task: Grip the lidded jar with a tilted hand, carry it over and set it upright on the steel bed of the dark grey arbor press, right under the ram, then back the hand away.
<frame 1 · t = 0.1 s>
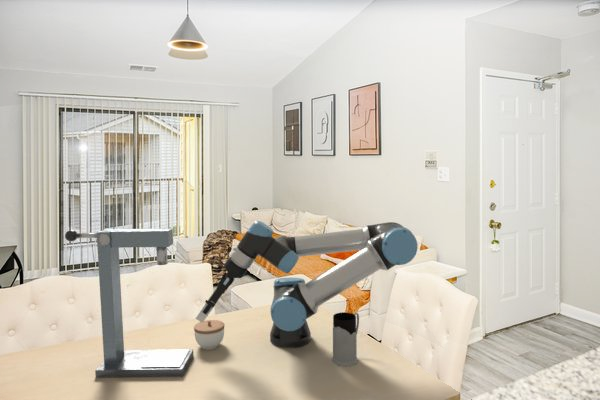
hand: (203, 313, 147), 15 cm above the table, tool tilted 35°, fingers open, 13 cm apart
arbor press: (166, 366, 141), on the table
lidded jar: (210, 346, 156), on the table
grey mug: (348, 357, 146), on the table
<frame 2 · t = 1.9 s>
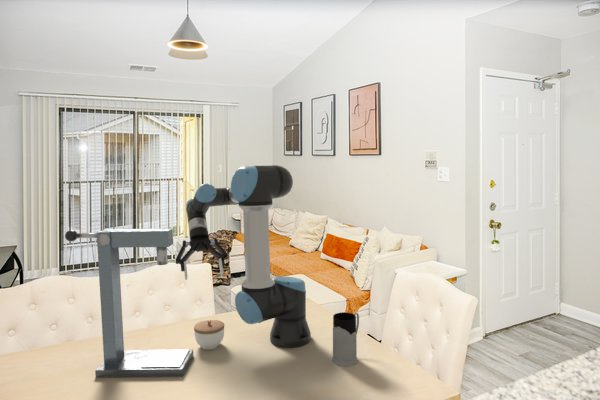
hand: (204, 276, 166), 23 cm above the table, tool tilted 45°, fingers open, 13 cm apart
nothing on the table moved.
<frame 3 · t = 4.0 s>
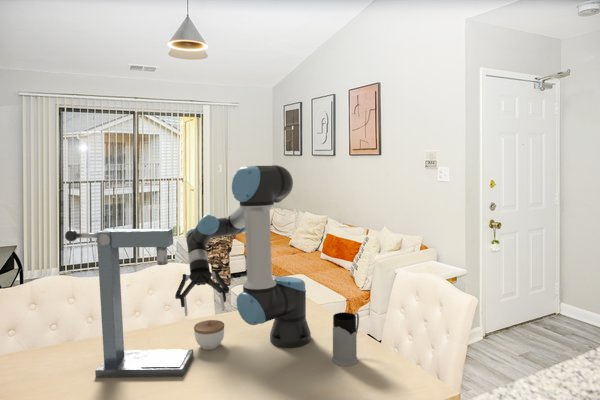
hand: (205, 312, 161), 11 cm above the table, tool tilted 45°, fingers open, 13 cm apart
nothing on the table moved.
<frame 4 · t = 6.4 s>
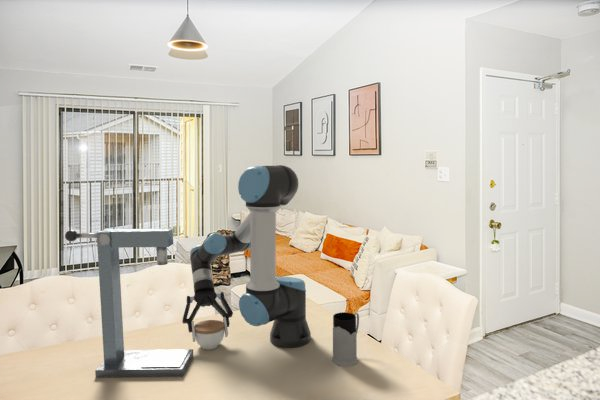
hand: (210, 337, 153), 4 cm above the table, tool tilted 45°, fingers closed on lidded jar, 11 cm apart
lidded jar: (210, 346, 156), on the table, touching gripper
everything else where it was.
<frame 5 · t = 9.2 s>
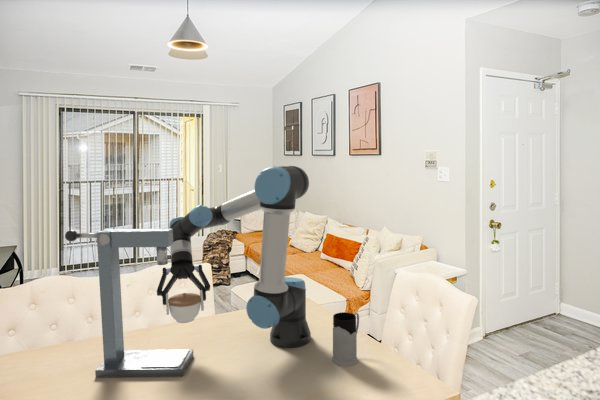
hand: (185, 311, 146), 16 cm above the table, tool tilted 45°, fingers closed on lidded jar, 11 cm apart
lidded jar: (185, 320, 150), point 12 cm above the table, touching gripper
everything else where it was.
when the fingers open (8 cm above the table, at t = 12.4 s): lidded jar drops 1 cm, resting on arbor press.
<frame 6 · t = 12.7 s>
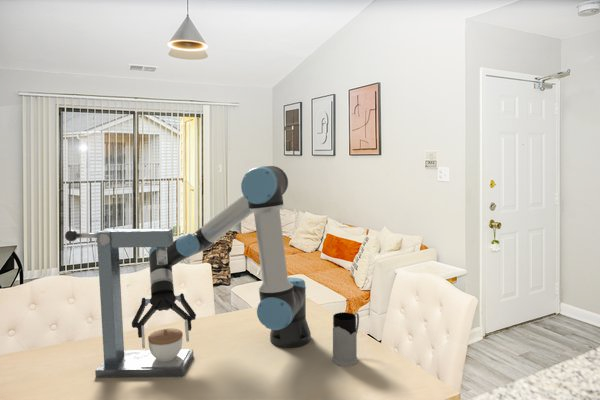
hand: (166, 343, 138), 9 cm above the table, tool tilted 45°, fingers open, 13 cm apart
lidded jar: (166, 358, 141), point 3 cm above the table, touching arbor press
everything else where it was.
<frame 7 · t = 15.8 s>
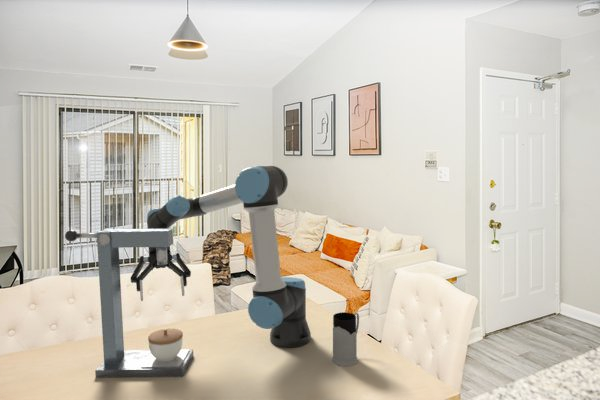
hand: (162, 296, 148), 20 cm above the table, tool tilted 45°, fingers open, 13 cm apart
nothing on the table moved.
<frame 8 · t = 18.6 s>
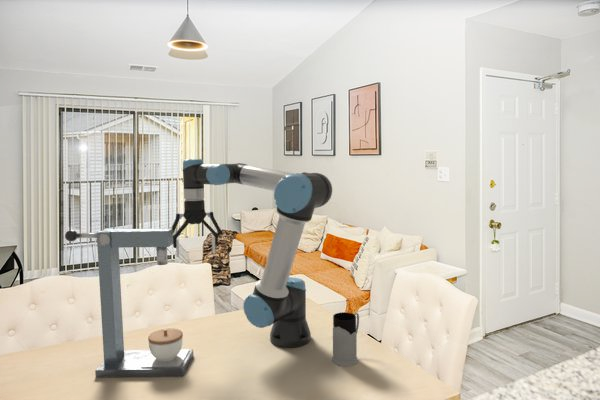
hand: (196, 254, 166), 31 cm above the table, tool pointing down, fingers open, 13 cm apart
nothing on the table moved.
at the end: lidded jar inside the target area on the arbor press (0.2 cm from its centre), point 2.6 cm above the arbor press's base; lidded jar tilted 0°; the gripper is holding nothing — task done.
